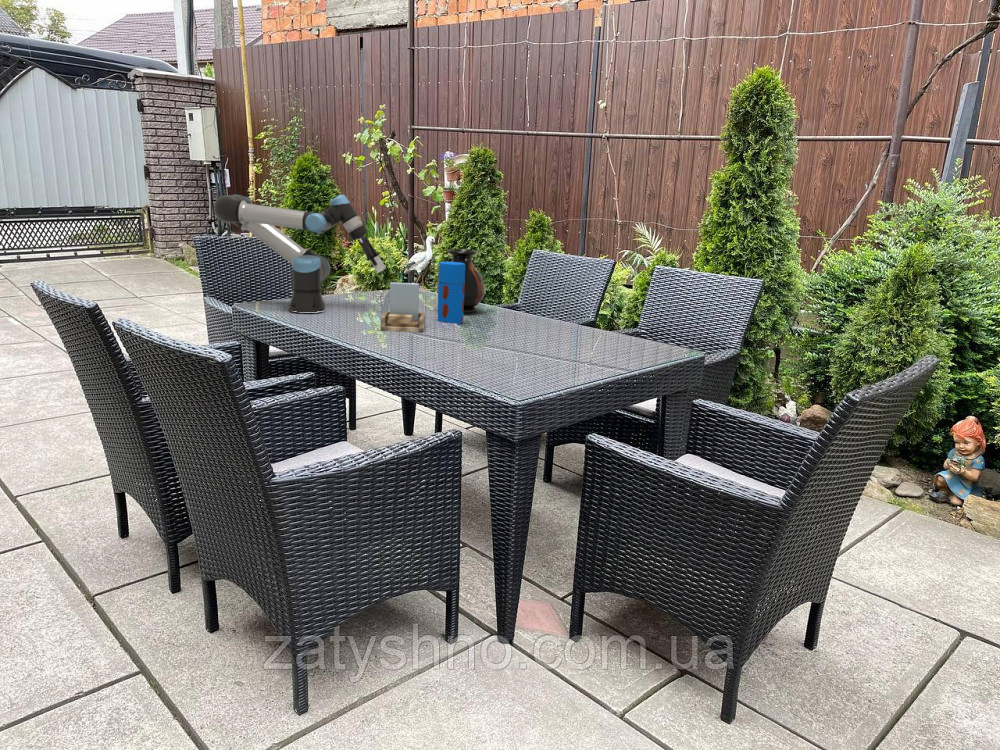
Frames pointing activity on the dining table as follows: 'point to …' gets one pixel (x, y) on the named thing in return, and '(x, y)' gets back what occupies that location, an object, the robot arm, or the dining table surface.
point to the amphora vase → (469, 279)
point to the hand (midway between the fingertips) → (381, 270)
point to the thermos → (451, 292)
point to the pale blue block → (404, 299)
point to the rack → (402, 329)
